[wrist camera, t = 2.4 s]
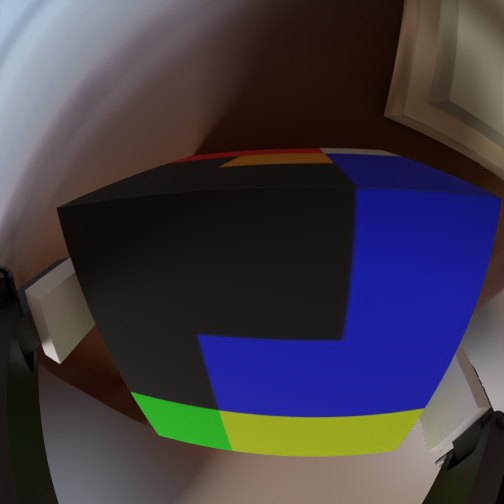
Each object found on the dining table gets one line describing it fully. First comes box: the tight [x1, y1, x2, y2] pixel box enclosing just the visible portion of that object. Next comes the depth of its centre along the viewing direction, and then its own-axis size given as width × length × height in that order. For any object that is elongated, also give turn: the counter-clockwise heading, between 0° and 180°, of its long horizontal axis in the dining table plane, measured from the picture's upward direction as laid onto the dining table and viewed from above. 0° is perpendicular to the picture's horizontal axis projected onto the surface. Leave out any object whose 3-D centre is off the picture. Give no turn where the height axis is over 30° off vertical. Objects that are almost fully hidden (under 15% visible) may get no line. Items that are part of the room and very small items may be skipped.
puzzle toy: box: [57, 148, 501, 456], centre depth 11 cm, size 10×10×10 cm
